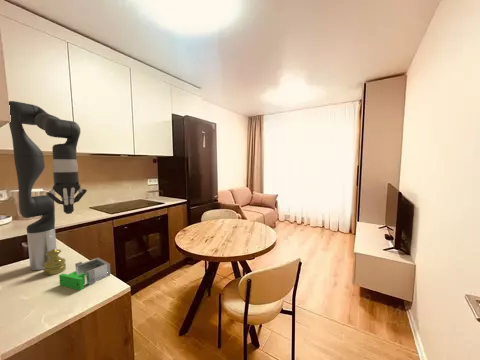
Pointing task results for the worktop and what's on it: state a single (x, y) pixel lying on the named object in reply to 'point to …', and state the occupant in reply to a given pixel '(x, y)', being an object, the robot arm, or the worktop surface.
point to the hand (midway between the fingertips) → (68, 213)
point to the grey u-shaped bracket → (93, 270)
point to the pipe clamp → (72, 280)
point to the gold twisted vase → (54, 263)
